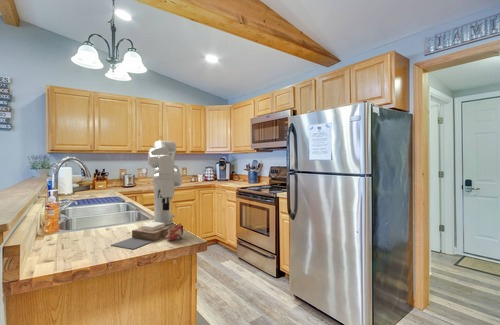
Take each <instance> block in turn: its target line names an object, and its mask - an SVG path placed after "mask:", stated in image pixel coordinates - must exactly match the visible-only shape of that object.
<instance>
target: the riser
mask: <svg viewBox="0 0 500 325" xmlns="http://www.w3.org/2000/svg"><path fill="white" fill-rule="evenodd" d="M170 228H172V226H168V225H165V227H163V228H160V229H157V230H154V231H148V230H142V226H141V227H139V228H138V227H137V228H135V229H132V230H131V238H137V239H143V240H150V241H153V242H156V241H158V240H159V241H160V240H161V239H163V238H166V237H165V236H166V235H168V232H167V231H168V230H169V229H170ZM153 242H152V243H153Z"/></svg>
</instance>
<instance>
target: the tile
mask: <svg viewBox="0 0 500 325" xmlns="http://www.w3.org/2000/svg"><path fill="white" fill-rule="evenodd" d="M165 226H166V225H165V223H160V222H153V221H152V222H149V223H146V224H143V225H141V227H142V230H148V231H154V230H157V229H160V228H163V227H165Z"/></svg>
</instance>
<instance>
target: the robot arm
mask: <svg viewBox="0 0 500 325" xmlns="http://www.w3.org/2000/svg"><path fill="white" fill-rule="evenodd" d="M152 147H153V148H150V149H149V150H148V152H147V155H148V156H147V164H148V166H149V167H150V168H151V169H153V174H154V175H153V176H152V185H153V186H152V187H153V196H154V197H153V198H154V199H153V202H154V208H153V211H154V220H153V221H152V222H160V223H165V226H168V225H171V224H173V223H174V220H173V218H175V217H176V215H175V214H171V200H172V199H173V198H174V196H175V189H176V188H180V187H181V186H182V184H183V178H182V177H183V176H182V174H181V171H180V168H179V166H178V165H177V164H175V155H176V152H177V144H176V142H174V141H173V140H156V141H155V142H154V143H153V146H152Z"/></svg>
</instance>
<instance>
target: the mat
mask: <svg viewBox="0 0 500 325" xmlns="http://www.w3.org/2000/svg"><path fill="white" fill-rule="evenodd" d="M152 243H153V241H150V240H143V239H137V238H132V237H130V238H129V237H128V238H126V239H124V240H121V241H118V242H115V243H112V244H110V246H111V247H115V248H116V247H117V248H121V249H126V250H133V251H134V250H136V249H138V248H141V247H144V246H146V245H149V244H152Z"/></svg>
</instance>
